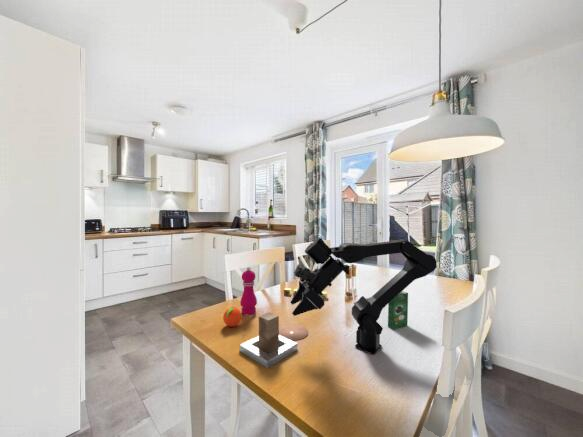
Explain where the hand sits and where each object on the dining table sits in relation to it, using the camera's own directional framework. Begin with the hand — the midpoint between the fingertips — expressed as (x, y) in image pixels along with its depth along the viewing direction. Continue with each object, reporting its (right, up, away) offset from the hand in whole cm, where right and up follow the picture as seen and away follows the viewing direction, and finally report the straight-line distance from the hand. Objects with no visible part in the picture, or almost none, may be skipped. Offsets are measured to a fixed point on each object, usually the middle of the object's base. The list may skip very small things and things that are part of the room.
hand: (292, 308), depth 79 cm
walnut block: (-7, -13, 0) cm, 15 cm away
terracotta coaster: (0, -13, +12) cm, 17 cm away
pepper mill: (-19, -13, +30) cm, 38 cm away
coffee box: (+41, -13, +17) cm, 46 cm away
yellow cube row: (+7, -13, +50) cm, 52 cm away
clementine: (-23, -13, +17) cm, 32 cm away
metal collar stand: (-7, -13, 0) cm, 15 cm away
